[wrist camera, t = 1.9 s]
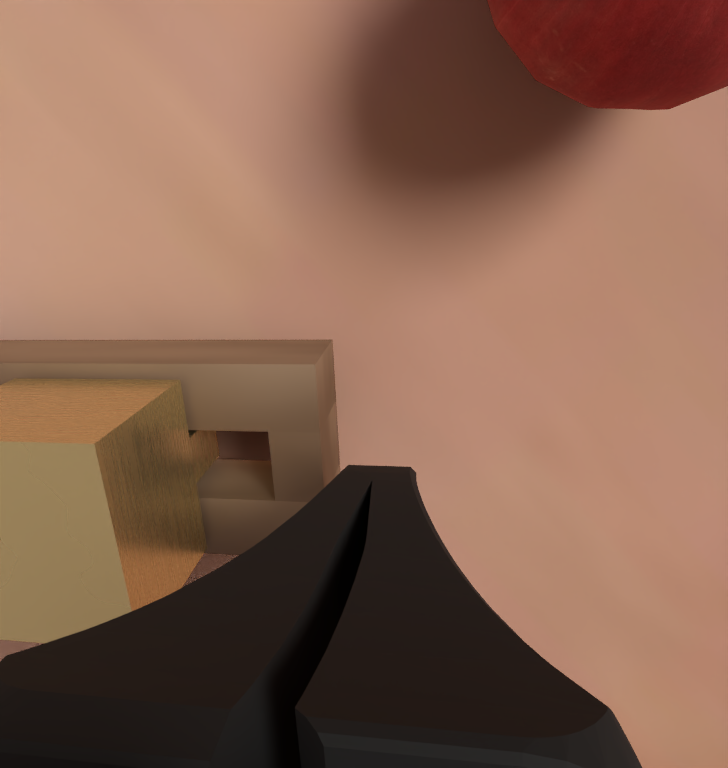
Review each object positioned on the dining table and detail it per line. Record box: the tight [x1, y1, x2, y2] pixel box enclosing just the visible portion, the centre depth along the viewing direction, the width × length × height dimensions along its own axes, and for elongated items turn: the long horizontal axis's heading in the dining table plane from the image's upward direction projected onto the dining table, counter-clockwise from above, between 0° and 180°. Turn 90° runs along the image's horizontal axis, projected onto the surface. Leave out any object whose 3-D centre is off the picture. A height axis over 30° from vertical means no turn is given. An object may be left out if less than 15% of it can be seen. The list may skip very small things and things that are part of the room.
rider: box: [0, 378, 219, 643], centre depth 12 cm, size 4×4×5 cm
